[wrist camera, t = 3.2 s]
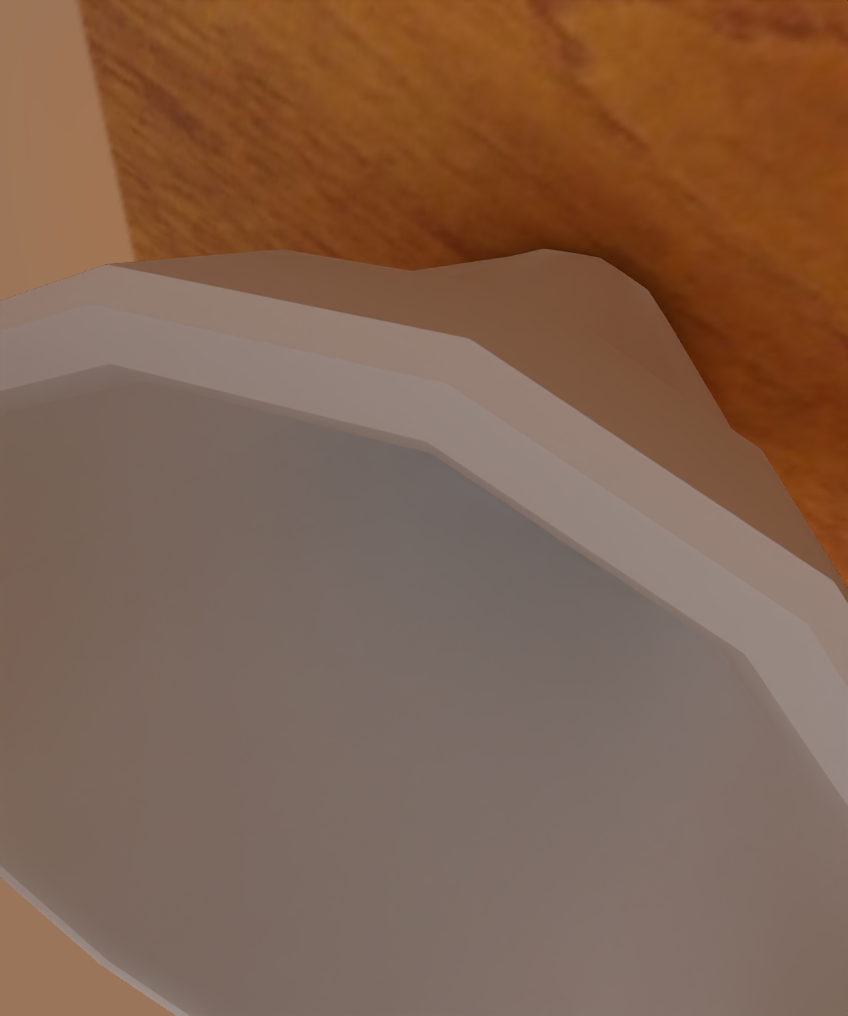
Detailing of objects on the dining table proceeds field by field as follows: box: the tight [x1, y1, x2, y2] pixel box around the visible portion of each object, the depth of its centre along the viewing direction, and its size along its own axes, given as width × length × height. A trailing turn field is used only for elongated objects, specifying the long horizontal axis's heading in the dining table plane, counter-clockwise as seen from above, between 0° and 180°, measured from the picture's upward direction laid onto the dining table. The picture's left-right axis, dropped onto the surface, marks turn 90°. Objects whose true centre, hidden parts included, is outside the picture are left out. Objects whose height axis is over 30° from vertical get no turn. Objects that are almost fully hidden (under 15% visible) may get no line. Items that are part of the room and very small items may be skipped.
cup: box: [0, 249, 848, 1016], centre depth 11 cm, size 10×10×13 cm
